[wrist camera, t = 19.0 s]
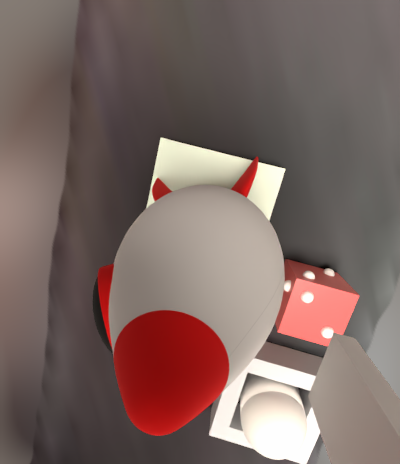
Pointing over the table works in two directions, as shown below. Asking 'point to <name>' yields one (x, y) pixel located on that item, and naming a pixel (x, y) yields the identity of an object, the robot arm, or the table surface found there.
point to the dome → (272, 417)
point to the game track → (213, 172)
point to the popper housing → (279, 369)
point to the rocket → (188, 300)
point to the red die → (314, 303)
